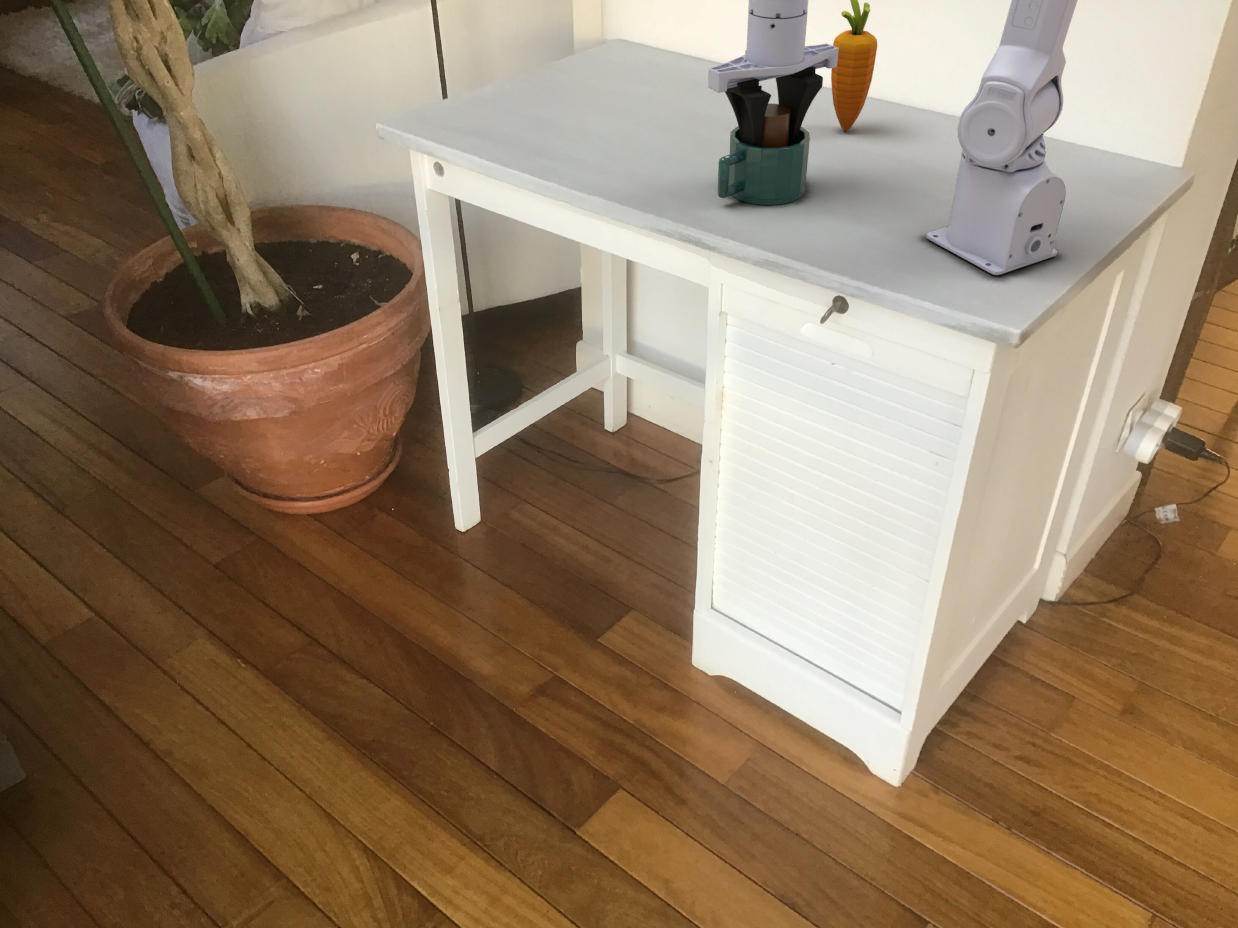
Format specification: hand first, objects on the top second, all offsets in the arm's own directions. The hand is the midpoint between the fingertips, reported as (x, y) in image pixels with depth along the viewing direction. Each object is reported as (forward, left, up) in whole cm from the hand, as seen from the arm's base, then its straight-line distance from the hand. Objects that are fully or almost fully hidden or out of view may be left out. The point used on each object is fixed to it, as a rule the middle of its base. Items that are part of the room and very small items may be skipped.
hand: (769, 148), depth 107 cm
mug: (0, +1, -5) cm, 5 cm away
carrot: (+9, -18, -5) cm, 21 cm away
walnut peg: (0, 0, -2) cm, 2 cm away
